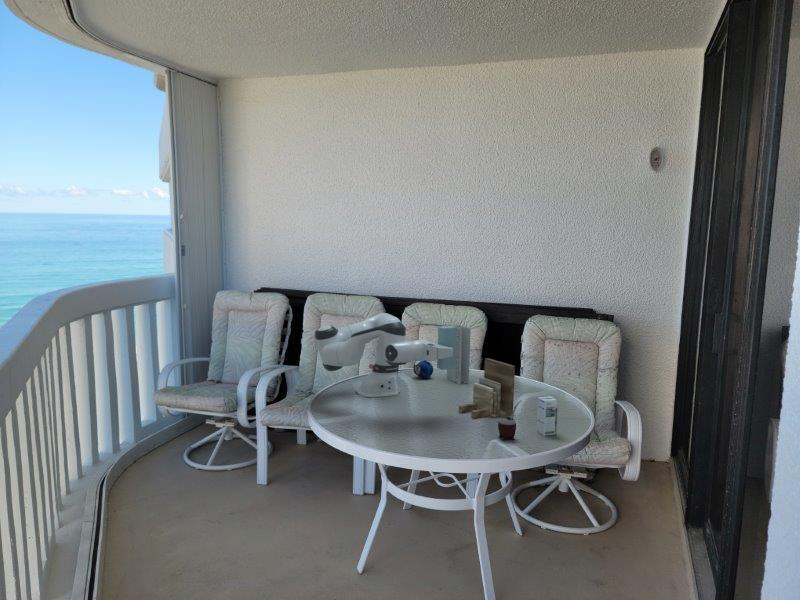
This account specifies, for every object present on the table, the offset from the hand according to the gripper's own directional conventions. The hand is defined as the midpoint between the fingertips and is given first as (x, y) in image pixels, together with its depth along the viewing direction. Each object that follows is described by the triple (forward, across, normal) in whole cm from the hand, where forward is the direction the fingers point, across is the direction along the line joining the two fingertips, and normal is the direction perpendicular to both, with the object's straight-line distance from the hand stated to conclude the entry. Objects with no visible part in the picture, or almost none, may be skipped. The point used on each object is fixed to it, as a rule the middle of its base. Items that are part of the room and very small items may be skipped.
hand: (448, 347), depth 250 cm
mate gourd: (+3, +36, -30) cm, 47 cm away
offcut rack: (+17, +5, -30) cm, 35 cm away
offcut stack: (+18, +5, -29) cm, 35 cm away
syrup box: (+21, +39, -30) cm, 54 cm away
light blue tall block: (-1, 0, -9) cm, 9 cm away
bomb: (+28, -60, -30) cm, 73 cm away
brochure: (+41, -46, -30) cm, 69 cm away
